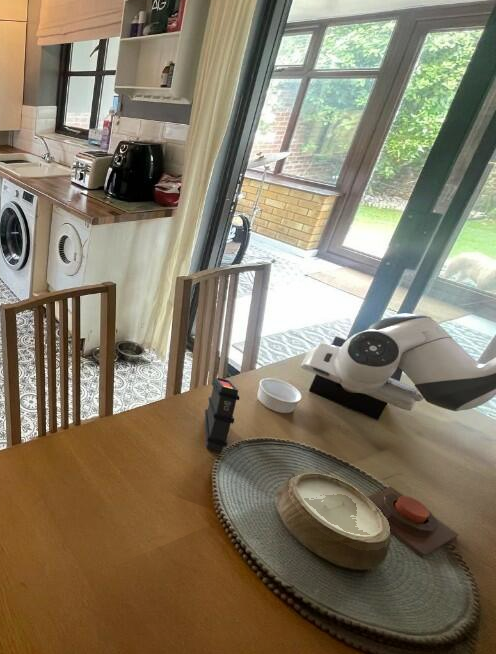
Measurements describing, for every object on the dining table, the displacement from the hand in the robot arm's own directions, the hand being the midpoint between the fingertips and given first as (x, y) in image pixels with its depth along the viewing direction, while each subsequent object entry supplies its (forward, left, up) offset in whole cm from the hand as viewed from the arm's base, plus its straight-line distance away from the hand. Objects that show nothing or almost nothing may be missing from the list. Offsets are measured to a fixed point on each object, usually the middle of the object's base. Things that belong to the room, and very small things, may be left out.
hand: (351, 387), depth 99 cm
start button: (-24, +22, -3) cm, 33 cm away
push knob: (+1, -2, -2) cm, 3 cm away
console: (+3, -8, -7) cm, 11 cm away
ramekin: (+7, +13, -7) cm, 17 cm away
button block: (-24, +22, -7) cm, 34 cm away
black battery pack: (+5, +36, -7) cm, 38 cm away
